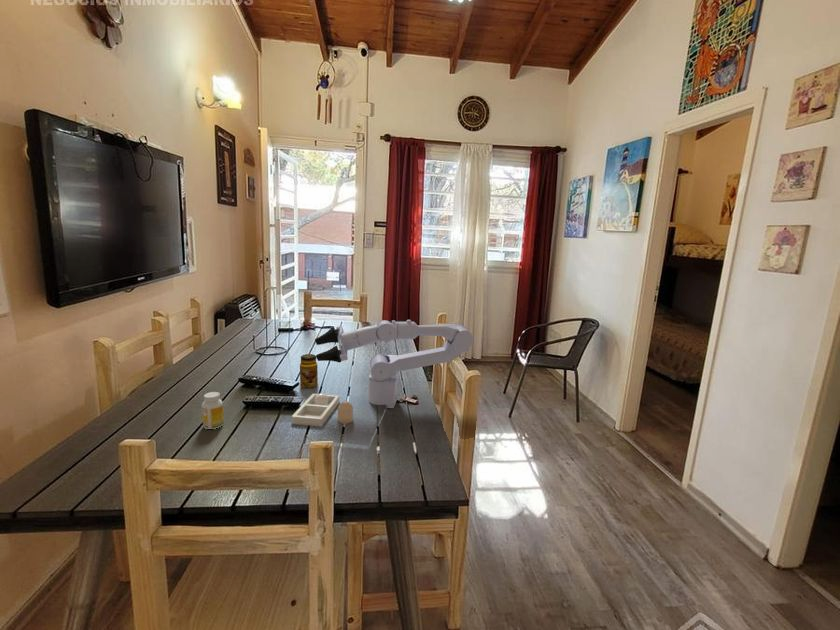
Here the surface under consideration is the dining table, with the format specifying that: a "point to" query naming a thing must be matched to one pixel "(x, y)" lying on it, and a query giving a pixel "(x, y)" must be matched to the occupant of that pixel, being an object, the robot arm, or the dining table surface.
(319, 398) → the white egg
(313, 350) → the dining table surface
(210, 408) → the supplement bottle
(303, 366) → the condiment
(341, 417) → the brown egg
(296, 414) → the holder
